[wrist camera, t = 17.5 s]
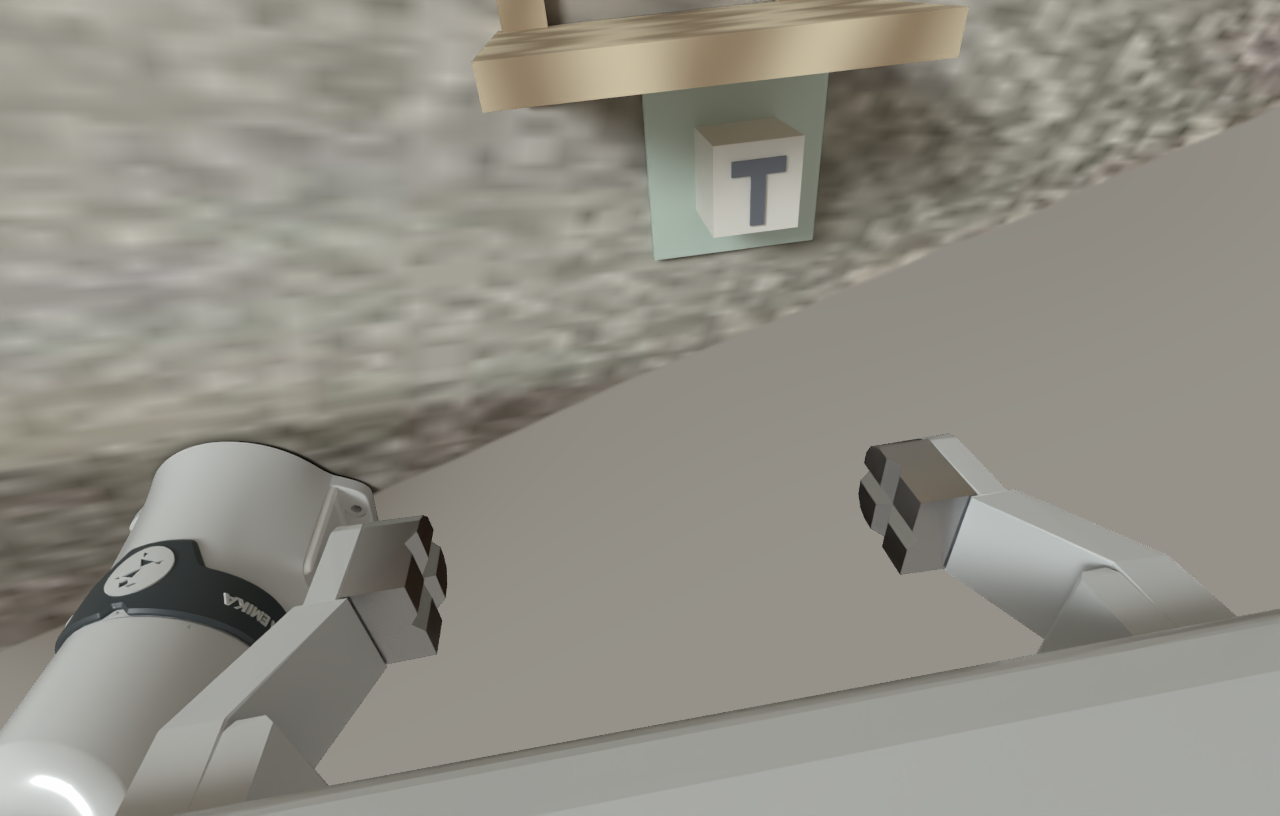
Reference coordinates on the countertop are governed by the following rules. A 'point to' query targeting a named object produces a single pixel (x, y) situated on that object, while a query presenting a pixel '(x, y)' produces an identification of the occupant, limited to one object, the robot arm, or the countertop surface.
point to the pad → (675, 156)
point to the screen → (702, 47)
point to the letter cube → (748, 176)
